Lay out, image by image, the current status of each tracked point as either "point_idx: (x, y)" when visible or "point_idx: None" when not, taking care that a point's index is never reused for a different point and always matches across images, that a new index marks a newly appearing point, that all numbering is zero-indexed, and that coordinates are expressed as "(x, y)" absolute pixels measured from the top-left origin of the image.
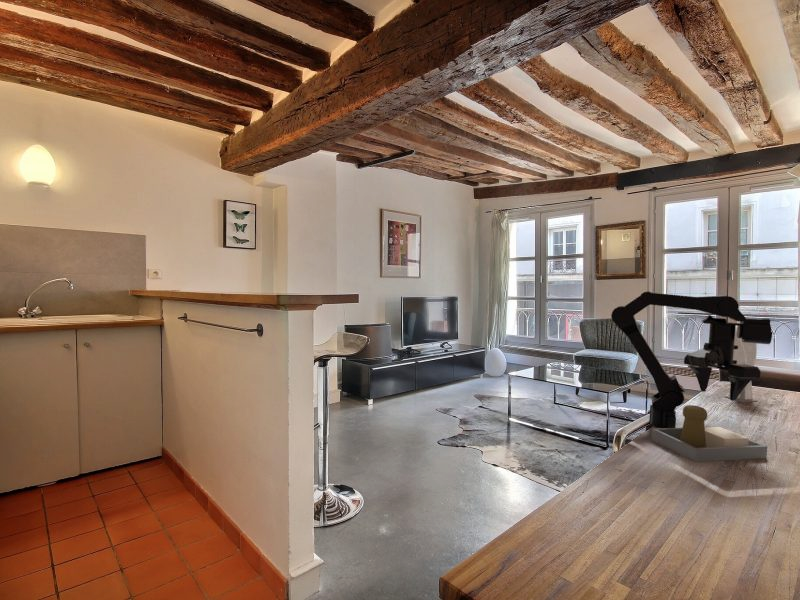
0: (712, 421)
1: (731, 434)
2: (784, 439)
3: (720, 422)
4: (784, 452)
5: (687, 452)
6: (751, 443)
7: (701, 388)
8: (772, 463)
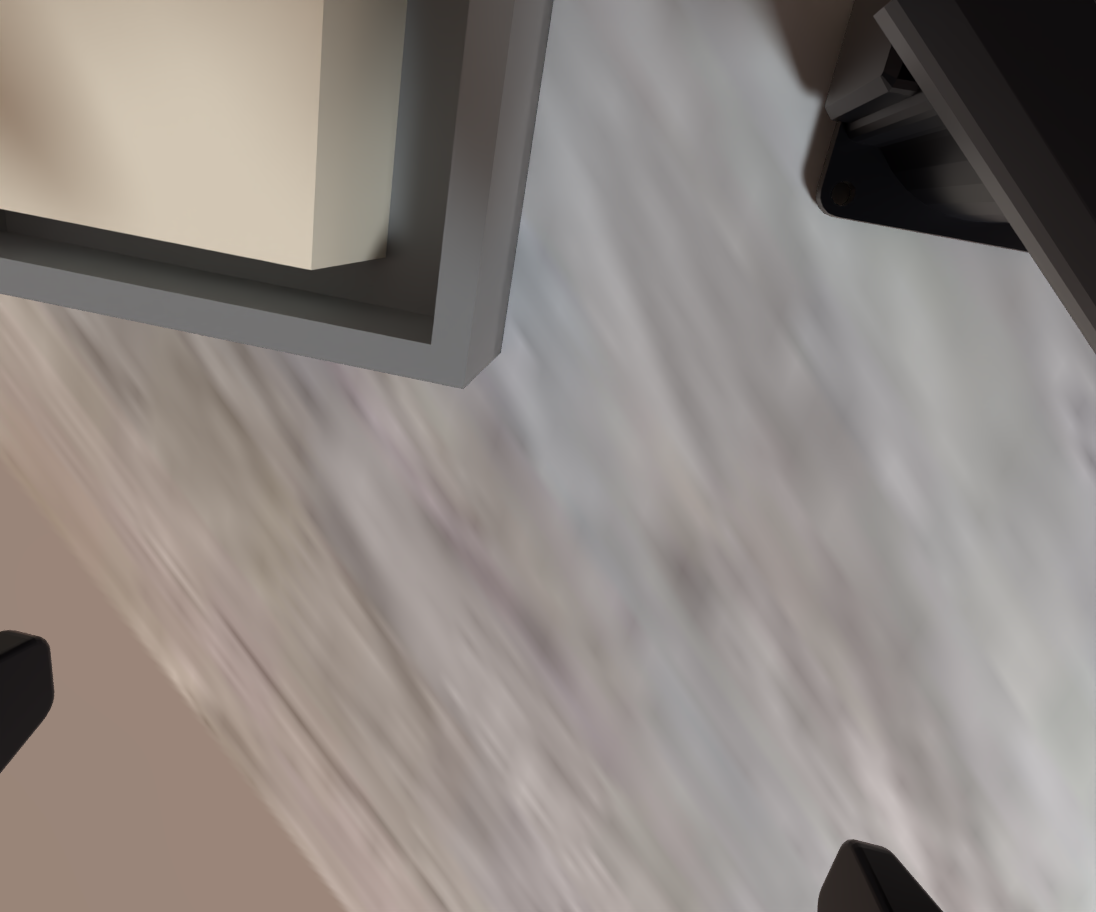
0: None
1: (42, 98)
2: (393, 909)
3: None
4: (191, 641)
5: None
6: (7, 252)
7: (901, 905)
8: None
